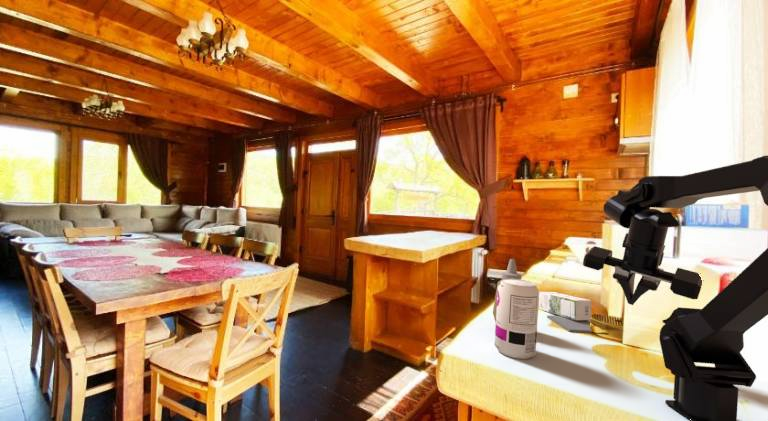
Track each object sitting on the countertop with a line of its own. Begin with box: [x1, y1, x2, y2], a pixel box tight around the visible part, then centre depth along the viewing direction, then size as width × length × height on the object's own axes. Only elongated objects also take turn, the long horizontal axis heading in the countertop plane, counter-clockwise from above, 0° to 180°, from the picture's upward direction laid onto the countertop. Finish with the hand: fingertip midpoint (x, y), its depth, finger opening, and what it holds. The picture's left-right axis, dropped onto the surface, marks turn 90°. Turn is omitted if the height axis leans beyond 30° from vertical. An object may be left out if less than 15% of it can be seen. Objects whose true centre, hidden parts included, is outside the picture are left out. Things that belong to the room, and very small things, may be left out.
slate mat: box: [546, 315, 593, 334], centre depth 88 cm, size 11×10×1 cm
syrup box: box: [538, 291, 592, 321], centre depth 97 cm, size 6×6×14 cm
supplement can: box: [494, 278, 540, 360], centre depth 69 cm, size 8×8×15 cm
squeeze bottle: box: [492, 258, 522, 324], centre depth 82 cm, size 8×8×18 cm
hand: (631, 303), depth 69 cm, fingers closed
